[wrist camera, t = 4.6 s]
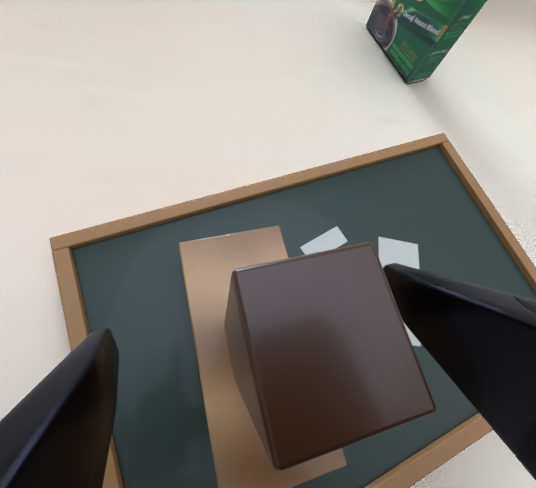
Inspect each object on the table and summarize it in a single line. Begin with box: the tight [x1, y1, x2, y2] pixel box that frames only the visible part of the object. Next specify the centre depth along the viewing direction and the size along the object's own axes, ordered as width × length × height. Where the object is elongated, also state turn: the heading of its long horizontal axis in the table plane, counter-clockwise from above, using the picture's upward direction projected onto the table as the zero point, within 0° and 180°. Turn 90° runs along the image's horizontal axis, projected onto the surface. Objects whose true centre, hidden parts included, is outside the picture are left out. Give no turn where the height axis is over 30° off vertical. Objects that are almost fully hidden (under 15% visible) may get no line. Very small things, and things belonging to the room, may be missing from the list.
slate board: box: [50, 133, 536, 488], centre depth 17 cm, size 28×18×1 cm, turn 112°
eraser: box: [179, 226, 436, 488], centre depth 10 cm, size 11×5×12 cm, turn 14°
